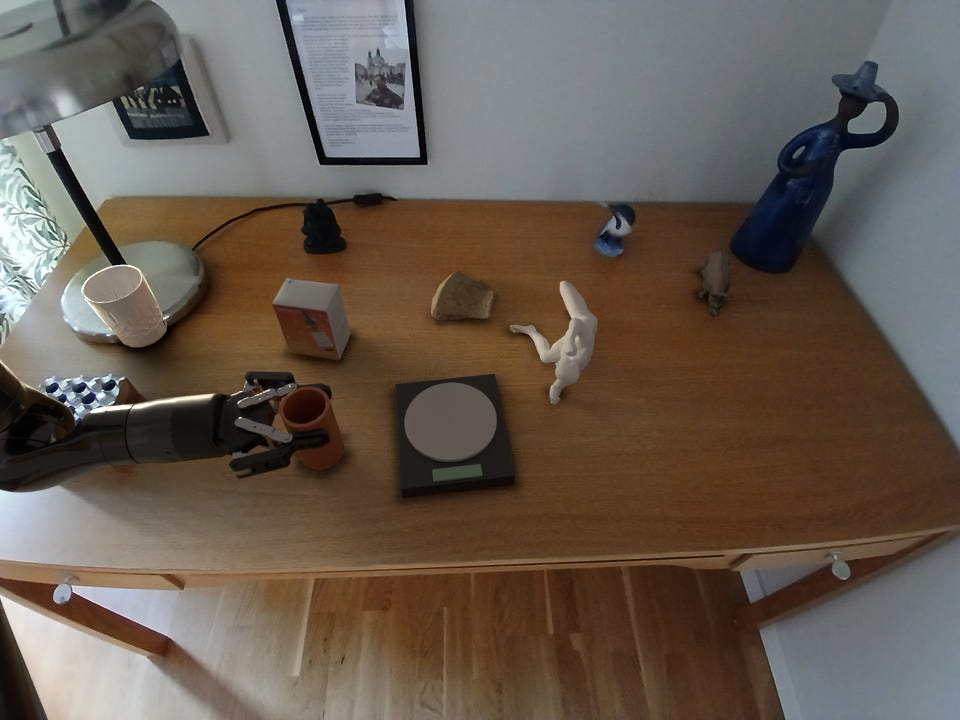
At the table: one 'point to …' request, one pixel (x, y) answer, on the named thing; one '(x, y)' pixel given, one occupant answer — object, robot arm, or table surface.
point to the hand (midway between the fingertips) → (329, 413)
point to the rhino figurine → (716, 280)
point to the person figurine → (567, 341)
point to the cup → (313, 424)
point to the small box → (312, 318)
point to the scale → (452, 436)
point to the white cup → (126, 305)
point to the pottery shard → (462, 299)
